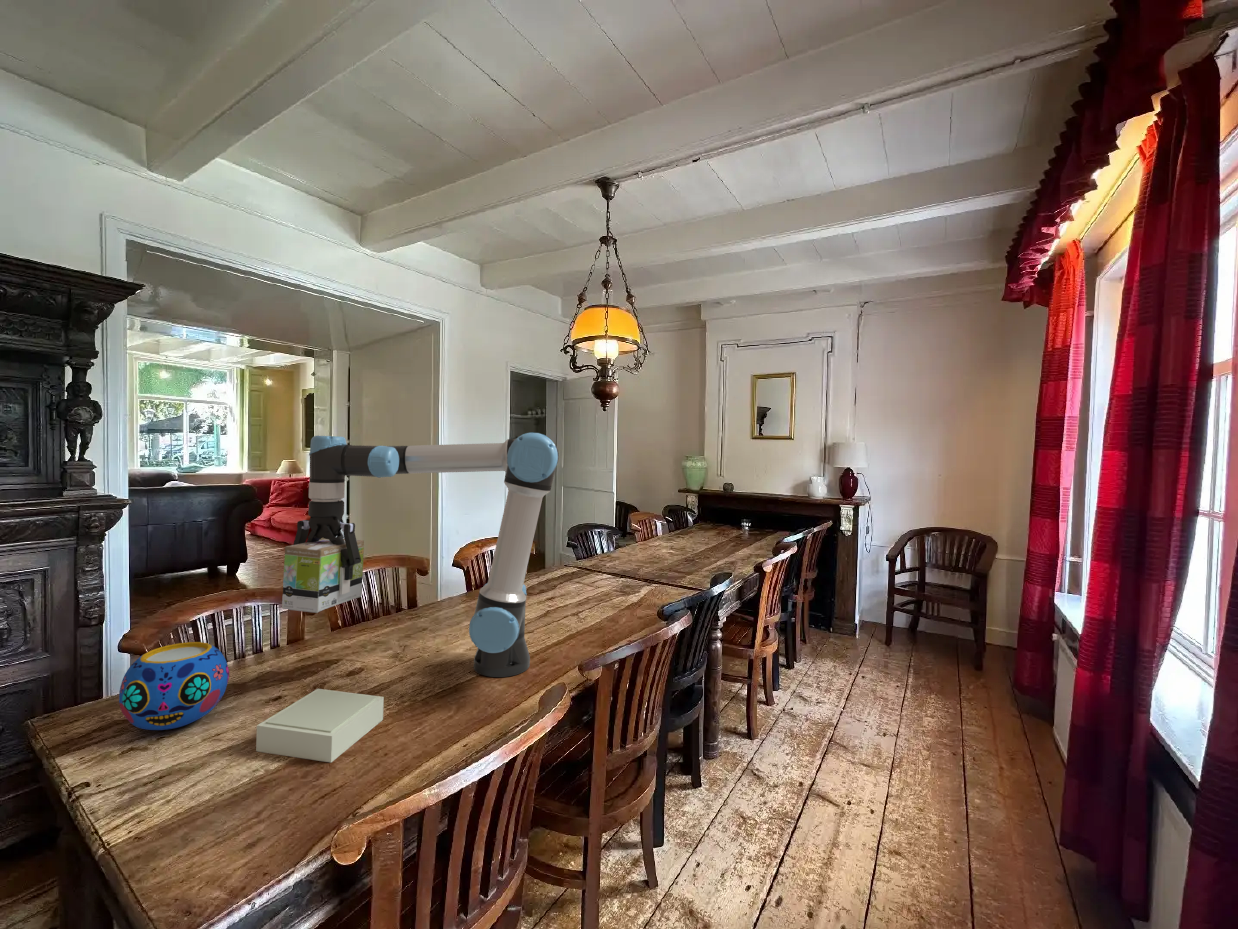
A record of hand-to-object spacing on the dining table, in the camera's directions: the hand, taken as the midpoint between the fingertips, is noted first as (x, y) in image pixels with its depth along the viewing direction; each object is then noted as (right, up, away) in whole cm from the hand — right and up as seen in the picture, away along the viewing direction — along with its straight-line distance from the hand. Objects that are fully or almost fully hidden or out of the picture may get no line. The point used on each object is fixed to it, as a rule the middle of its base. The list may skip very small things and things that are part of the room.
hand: (324, 591), depth 126 cm
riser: (+11, -25, -20) cm, 33 cm away
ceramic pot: (-21, -23, -18) cm, 36 cm away
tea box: (0, -3, 0) cm, 3 cm away
